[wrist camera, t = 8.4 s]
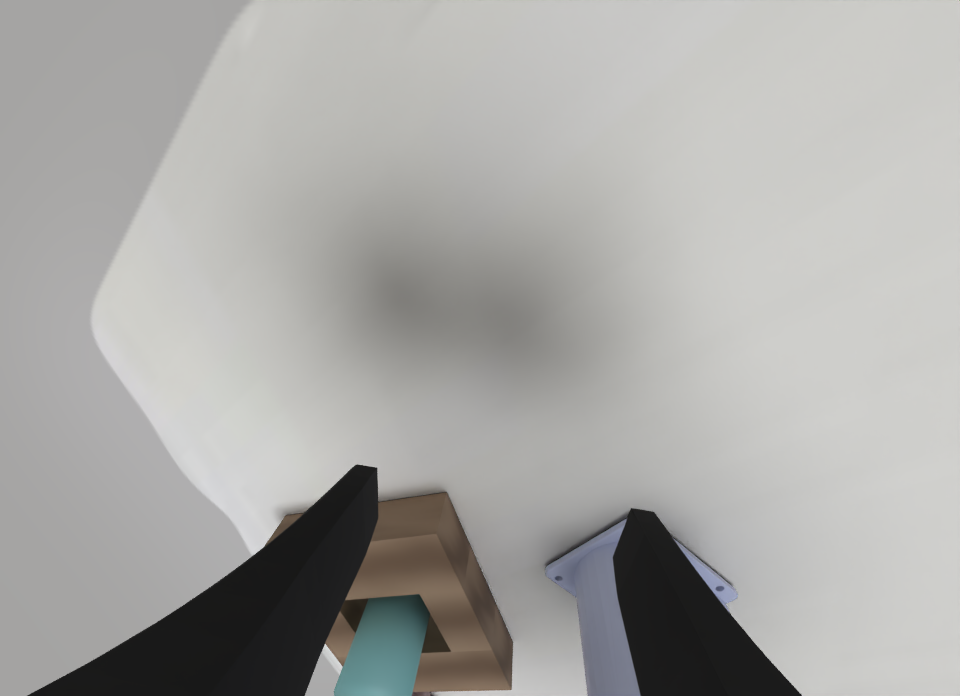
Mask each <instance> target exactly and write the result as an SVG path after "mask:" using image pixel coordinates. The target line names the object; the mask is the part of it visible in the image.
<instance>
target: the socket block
mask: <svg viewBox="0 0 960 696" xmlns="http://www.w3.org/2000/svg"><path fill="white" fill-rule="evenodd" d="M303 514H304V513H301V514H294V515H287V516H285V518H284V519H283V520H282V522H281V523H280V525H279V526H278V528H277V529H276V530H275V532H274V533H273V535H272V536H271V538H270V539H269V540H268V542H267V543H266V545H267V544H268V543H270V542H271V541H272V540H273V539H274V538H276V537H277V536H278V535H279V534H280V533H282V532H283V531H284V530H285V529H287V528H288V527H289V526H290V525H291V524H292V523H294V522H295V521H296V520H297V519H298V518H299V517H300V516H301V515H303ZM266 545H265V546H266ZM265 546H264V547H265ZM414 594H420V596H421V598H422V600H423V601H424V603H425V605H426V607H427V609H428V610H429V612H430V617H429V621H428V626H427V630H426V635H425V639H424V643H423V648H422V652H421V657H420V661H419V666H418V670H417V675H416V679H415V684H414V688H413V692H434V691H485V690H511V689H512V656H513V642H512V640H511V637H510V635H509V633H508V630H507V628H506V626H505V624H504V621H503V619H502V617H501V615H500V612H499V610H498V608H497V605H496V603H495V601H494V599H493V596H492V594H491V592H490V590H489V587H488V585H487V583H486V580H485V578H484V576H483V574H482V571H481V569H480V567H479V565H478V562H477V560H476V558H475V555H474V553H473V551H472V549H471V546H470V544H469V542H468V540H467V537H466V535H465V533H464V530H463V528H462V526H461V524H460V521H459V519H458V517H457V515H456V512H455V510H454V508H453V505H452V503H451V501H450V499H449V496H448V494H447V492H446V493H439V494H432V495H425V496H418V497H411V498H404V499H397V500H390V501H383V502H378V521H377V524H376V527H375V530H374V533H373V536H372V539H371V542H370V545H369V547H368V550H367V553H366V556H365V558H364V560H363V562H362V564H361V567H360V569H359V571H358V573H357V575H356V578H355V580H354V582H353V584H352V586H351V588H350V590H349V593H348V595H347V597H346V599H345V601H344V603H343V605H342V608H341V610H340V612H339V614H338V616H337V618H336V621H335V623H334V625H333V627H332V629H331V631H330V633H329V636H328V638H327V640H326V642H325V644H326V645H327V646H328V648H329V649H330V650H331V652H332V653H333V654H334V656H335V657H336V658H337V659H338V661H339V662H340V663H341V665H342V666H344V663H345V660H346V658H347V655H348V652H349V650H350V647H351V644H352V642H353V639H354V636H355V634H356V631H357V628H358V626H359V623H360V620H361V618H362V615H363V612H364V610H365V607H366V604H367V602H368V599H369V598H378V597H390V596H402V595H414Z"/></svg>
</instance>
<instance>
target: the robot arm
mask: <svg viewBox="0 0 960 696" xmlns="http://www.w3.org/2000/svg"><path fill="white" fill-rule="evenodd" d="M377 521H378V480H377V468H375V467H369V466H363V465H355V466H354V467H353V468H351V469H350V470H349V471H348V472H347V473H346V474H345V475H344V476H343V477H342V478H341V479H340V480H339V481H338V482H337V483H336V484H335V485H334V486H333V487H332V488H331V489H330V490H329V491H328V492H327V493H326V494H325V495H323V496H322V497H321V498H320V499H319V500H318V501H317V502H316V503H315V504H314V505H313V506H311V507H310V508H309V509H308V510H307V511H306V512H305V513H304V514H303V515H301V516H300V517H299V518H298V519H297V520H296V521H295V522H294V523H292V524H291V525H290V526H289V527H288V528H287V529H285V530H284V531H283V532H282V533H280V534H279V535H278V536H277V537H276V538H274V539H273V540H272V541H271V542H270V543H268V544H267V545H266V546H265V547H263V548H262V549H261V550H260V551H259V552H257V553H256V554H255V555H253V556H252V557H251V558H249V559H248V560H247V561H246V562H244V563H243V564H242V565H240V566H239V567H238V568H236V569H235V570H234V571H232V572H231V573H229V574H228V575H227V576H225V577H224V578H223V579H221V580H220V581H218V582H217V583H216V584H214V585H213V586H211V587H210V588H208V589H207V590H205V591H204V592H203V593H201V594H199V595H198V596H196V597H195V598H193V599H192V600H190V601H189V602H188V603H186V604H185V605H183V606H182V607H180V608H179V609H177V610H176V611H174V612H172V613H171V614H169V615H168V616H166V617H165V618H163V619H161V620H160V621H158V622H157V623H155V624H153V625H152V626H150V627H148V628H147V629H145V630H143V631H142V632H140V633H138V634H137V635H135V636H133V637H131V638H130V639H128V640H127V641H125V642H123V643H122V644H120V645H118V646H116V647H115V648H113V649H112V650H110V651H108V652H106V653H105V654H103V655H102V656H100V657H98V658H96V659H95V660H93V661H91V662H89V663H87V664H85V665H84V666H82V667H80V668H78V669H76V670H75V671H73V672H71V673H69V674H67V675H65V676H63V677H61V678H59V679H58V680H56V681H54V682H52V683H50V684H48V685H46V686H45V687H43V688H41V689H39V690H37V691H35V692H33V693H31V694H30V695H28V696H305V693H306V690H307V688H308V685H309V682H310V680H311V677H312V674H313V672H314V669H315V666H316V664H317V661H318V659H319V656H320V654H321V652H322V649H323V647H324V645H325V642H326V640H327V638H328V636H329V633H330V631H331V629H332V627H333V625H334V623H335V621H336V618H337V616H338V614H339V612H340V610H341V608H342V605H343V603H344V601H345V599H346V597H347V595H348V593H349V590H350V588H351V586H352V584H353V582H354V580H355V578H356V575H357V573H358V571H359V569H360V567H361V564H362V562H363V560H364V558H365V556H366V553H367V550H368V547H369V545H370V542H371V539H372V536H373V533H374V530H375V527H376V524H377ZM545 574H546V576H547V577H548V578H550V579H551V580H552V581H554V582H555V583H557V584H558V585H559V586H561V587H562V588H564V589H565V590H566V591H568V592H569V593H571V594H572V595H573V596H575V597H576V598H577V607H578V616H579V624H580V633H581V642H582V650H583V659H584V668H585V677H586V685H587V694H588V696H802V695H801V694H800V693H799V692H798V691H797V690H796V689H795V688H794V686H793V685H792V684H791V683H790V682H789V681H788V680H787V679H786V678H785V677H784V676H783V674H782V673H781V672H780V671H779V670H778V669H777V668H776V667H775V666H774V665H773V664H772V662H771V661H770V660H769V659H768V658H767V657H766V656H765V655H764V653H763V652H762V651H761V650H760V649H759V648H758V647H757V645H756V644H755V643H754V642H753V641H752V639H751V638H750V637H749V636H748V635H747V633H746V632H745V631H744V630H743V629H742V627H741V626H740V625H739V624H738V623H737V621H736V620H735V619H734V618H733V617H732V615H731V614H730V612H729V610H728V608H727V605H726V603H729V602H731V601H733V600H735V599H736V598H737V597H738V594H737V592H736V590H735V588H734V587H732V586H731V585H730V584H729V583H728V582H726V581H725V580H724V579H723V578H721V577H720V576H719V575H718V574H717V573H715V572H714V571H713V570H712V569H710V568H709V567H708V566H707V565H706V564H704V563H703V562H702V561H701V560H699V559H698V558H697V557H696V556H694V555H693V554H692V553H691V552H690V551H688V550H687V549H686V548H685V547H683V546H682V545H681V544H680V543H679V542H677V541H676V540H675V539H674V538H672V536H671V535H670V533H669V532H668V531H667V529H666V528H665V527H664V525H663V524H662V522H661V521H660V520H659V518H658V517H657V516H656V514H655V513H654V512H651V511H645V510H639V509H633V508H631V510H630V513H629V515H628V518H627V519H625V520H623V521H622V522H620V523H618V524H617V525H615V526H613V527H612V528H610V529H608V530H607V531H605V532H603V533H601V534H600V535H598V536H596V537H595V538H593V539H591V540H590V541H588V542H586V543H585V544H583V545H581V546H580V547H578V548H576V549H575V550H573V551H571V552H570V553H568V554H566V555H565V556H563V557H561V558H559V559H558V560H556V561H554V562H553V563H551V564H549V565H548V566H547V567H546V568H545Z"/></svg>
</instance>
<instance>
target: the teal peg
mask: <svg viewBox="0 0 960 696" xmlns="http://www.w3.org/2000/svg"><path fill="white" fill-rule="evenodd" d="M429 617H430V612H429V610H428V609H427V607H426V605H425V603H424V601H423V600H422V598H421V596H420V594H414V595H402V596H390V597H378V598H369V599H368V602H367V604H366V607H365V610H364V612H363V615H362V618H361V620H360V623H359V626H358V628H357V631H356V634H355V636H354V639H353V642H352V644H351V647H350V650H349V652H348V655H347V658H346V660H345V663H344V666H343V668H342V671H341V674H340V676H339V679H338V682H337V684H336V687H335V690H334V696H412V693H413V688H414V684H415V679H416V675H417V670H418V666H419V661H420V657H421V652H422V648H423V643H424V639H425V635H426V630H427V626H428V621H429Z"/></svg>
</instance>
